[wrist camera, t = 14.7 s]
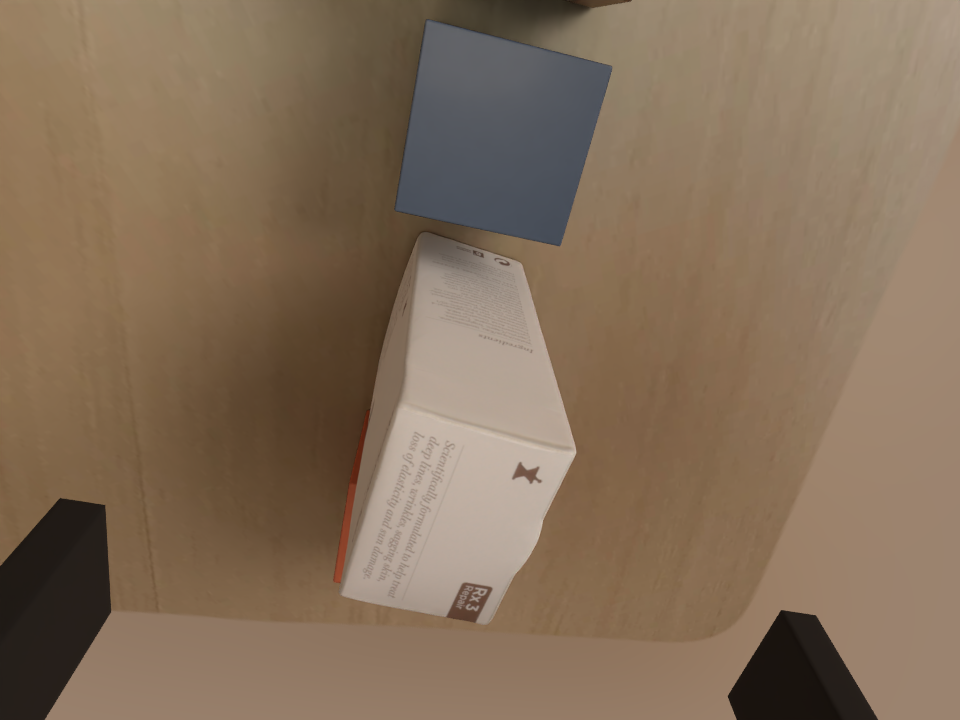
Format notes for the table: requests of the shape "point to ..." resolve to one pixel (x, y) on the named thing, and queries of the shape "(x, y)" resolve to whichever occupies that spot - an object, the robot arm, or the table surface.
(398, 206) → the slate blue block
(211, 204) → the table surface
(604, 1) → the walnut block
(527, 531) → the cosmetic box
